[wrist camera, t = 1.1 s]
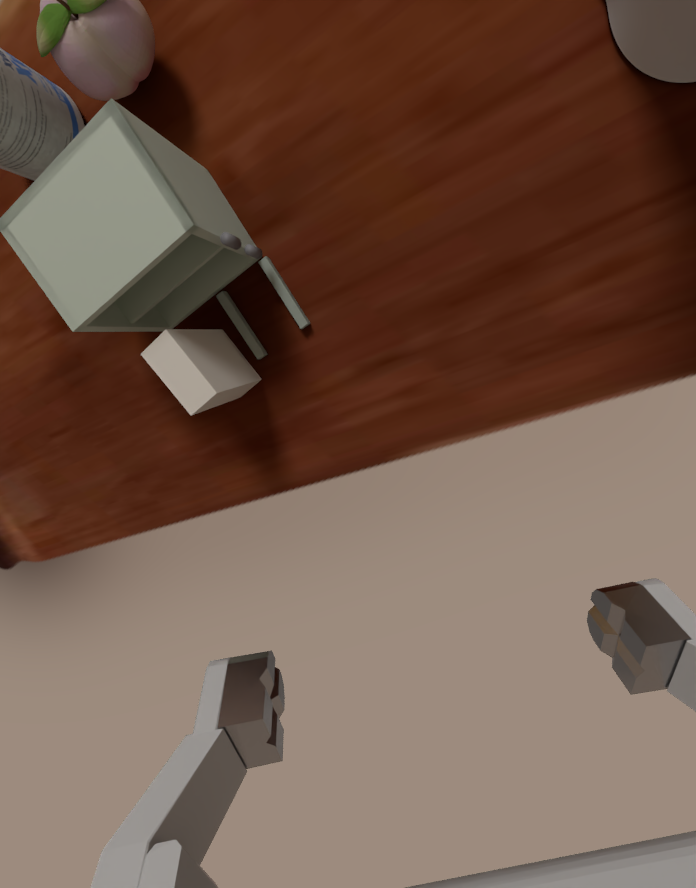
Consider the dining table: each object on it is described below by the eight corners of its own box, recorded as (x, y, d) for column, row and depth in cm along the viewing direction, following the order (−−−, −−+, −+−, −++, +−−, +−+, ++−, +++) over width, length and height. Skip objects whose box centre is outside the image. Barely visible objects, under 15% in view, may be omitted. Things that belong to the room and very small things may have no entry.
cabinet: (313, 321, 45) (267, 317, 32) (212, 394, 49) (134, 417, 36) (213, 164, 43) (119, 88, 30) (116, 254, 47) (-5, 223, 34)
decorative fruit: (141, -10, 40) (53, -116, 30) (193, 69, 41) (123, -10, 31) (79, 66, 43) (-20, -10, 33) (130, 139, 44) (48, 86, 34)
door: (261, 379, 48) (217, 392, 37) (237, 400, 49) (187, 419, 39) (222, 329, 47) (165, 329, 37) (198, 351, 48) (136, 357, 38)
